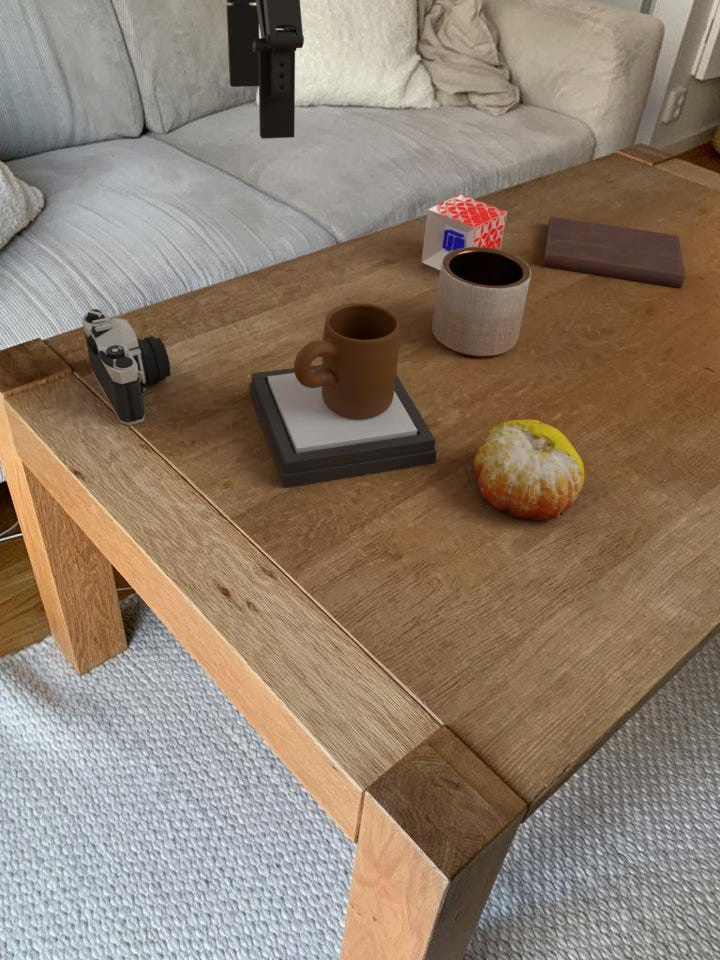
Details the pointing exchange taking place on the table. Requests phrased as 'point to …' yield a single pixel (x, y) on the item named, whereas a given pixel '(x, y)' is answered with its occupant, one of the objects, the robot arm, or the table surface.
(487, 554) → the table surface
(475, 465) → the fruit
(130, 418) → the camera
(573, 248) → the notebook
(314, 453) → the scale
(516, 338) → the planter
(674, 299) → the table surface
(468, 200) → the red and white box
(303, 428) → the scale pan
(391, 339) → the mug
